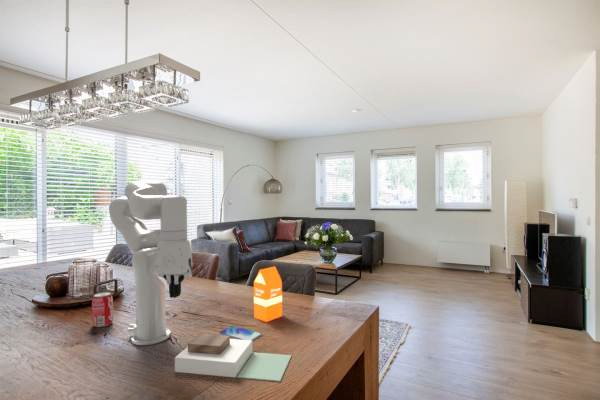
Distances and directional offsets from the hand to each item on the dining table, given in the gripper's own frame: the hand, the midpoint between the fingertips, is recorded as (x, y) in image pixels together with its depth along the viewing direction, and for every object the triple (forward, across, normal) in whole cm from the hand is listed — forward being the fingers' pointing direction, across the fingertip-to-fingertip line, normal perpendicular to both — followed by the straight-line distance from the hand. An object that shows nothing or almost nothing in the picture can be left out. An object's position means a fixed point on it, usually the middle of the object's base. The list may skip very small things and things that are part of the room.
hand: (175, 296), depth 98 cm
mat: (+19, +28, 0) cm, 34 cm away
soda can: (+19, -44, +20) cm, 52 cm away
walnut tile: (+15, +11, 0) cm, 19 cm away
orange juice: (+19, +18, +38) cm, 46 cm away
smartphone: (+20, +13, +20) cm, 31 cm away
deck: (+19, +13, 0) cm, 23 cm away
